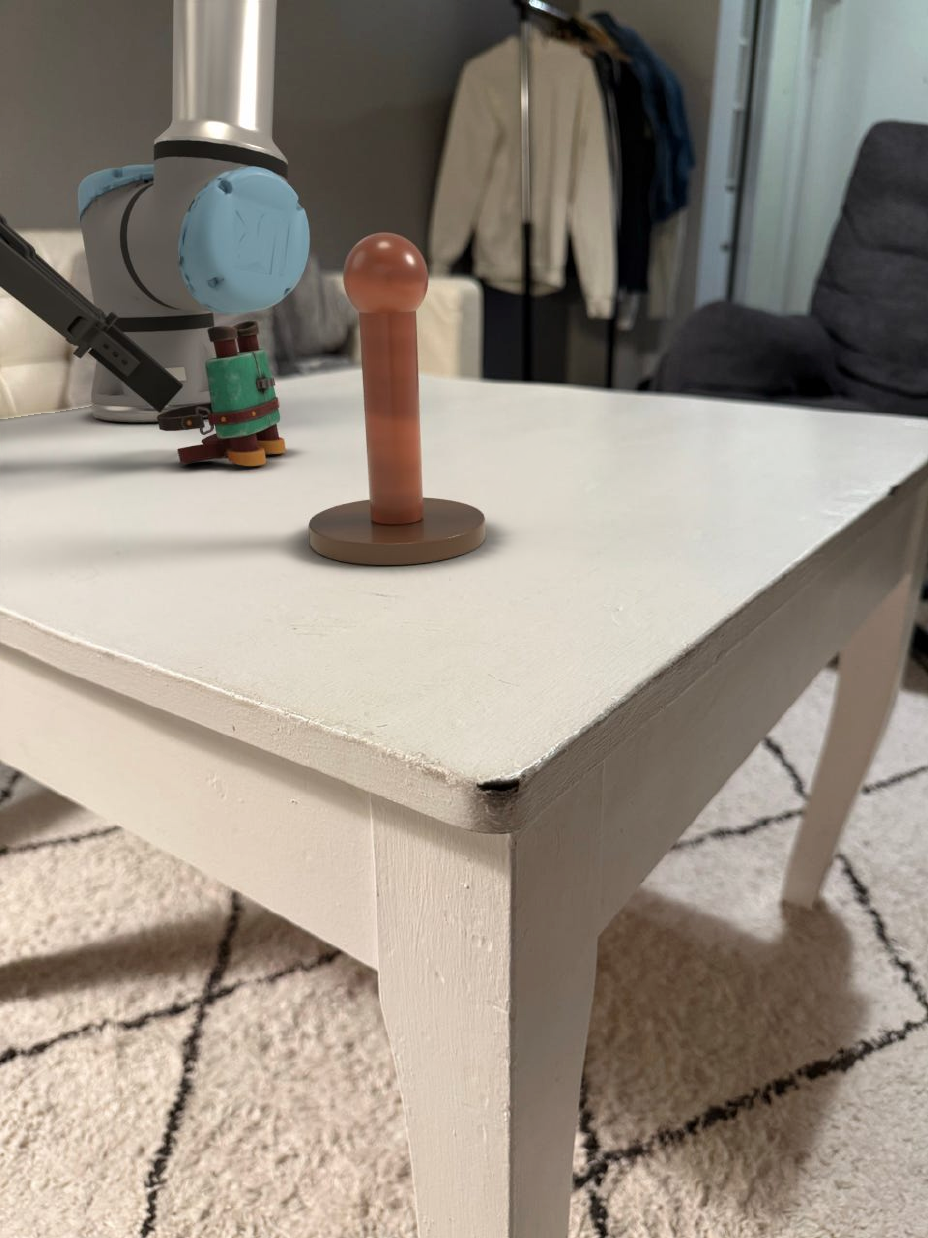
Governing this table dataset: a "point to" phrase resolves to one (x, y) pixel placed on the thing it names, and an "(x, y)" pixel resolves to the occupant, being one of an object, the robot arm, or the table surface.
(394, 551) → the marker post
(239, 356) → the binoculars
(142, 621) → the table surface
